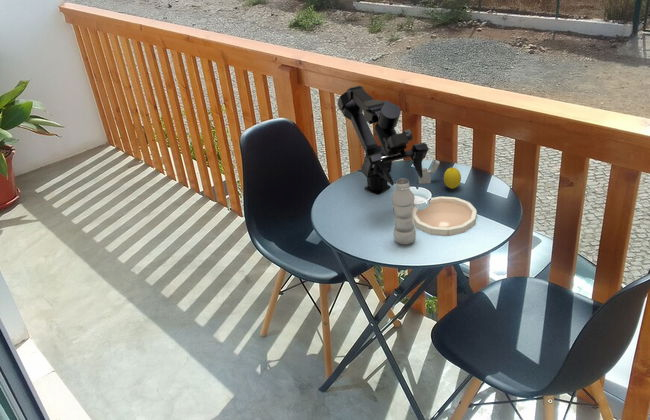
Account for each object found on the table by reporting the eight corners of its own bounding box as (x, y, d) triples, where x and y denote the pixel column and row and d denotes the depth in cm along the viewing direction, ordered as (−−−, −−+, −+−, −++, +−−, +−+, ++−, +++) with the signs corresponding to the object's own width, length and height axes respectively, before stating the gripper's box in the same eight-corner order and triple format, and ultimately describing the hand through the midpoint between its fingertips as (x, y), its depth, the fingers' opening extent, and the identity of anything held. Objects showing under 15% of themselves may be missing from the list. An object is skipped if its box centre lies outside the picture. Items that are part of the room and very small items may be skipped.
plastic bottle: (412, 233, 178) (410, 174, 167) (419, 245, 172) (417, 185, 162) (391, 237, 177) (387, 178, 167) (397, 249, 171) (394, 189, 161)
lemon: (460, 193, 195) (461, 171, 190) (443, 192, 196) (443, 171, 192) (460, 184, 199) (461, 163, 195) (444, 184, 200) (444, 163, 196)
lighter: (418, 183, 203) (418, 162, 199) (418, 181, 204) (417, 160, 200) (439, 183, 202) (439, 161, 198) (439, 180, 203) (439, 159, 199)
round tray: (400, 220, 184) (399, 215, 183) (438, 196, 194) (438, 190, 193) (449, 242, 171) (449, 236, 170) (488, 215, 182) (488, 209, 181)
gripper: (363, 129, 171) (382, 174, 165) (422, 115, 175) (443, 159, 169) (358, 150, 181) (376, 193, 175) (414, 137, 185) (433, 178, 179)
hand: (407, 181), depth 174 cm, fingers open, 9 cm apart
